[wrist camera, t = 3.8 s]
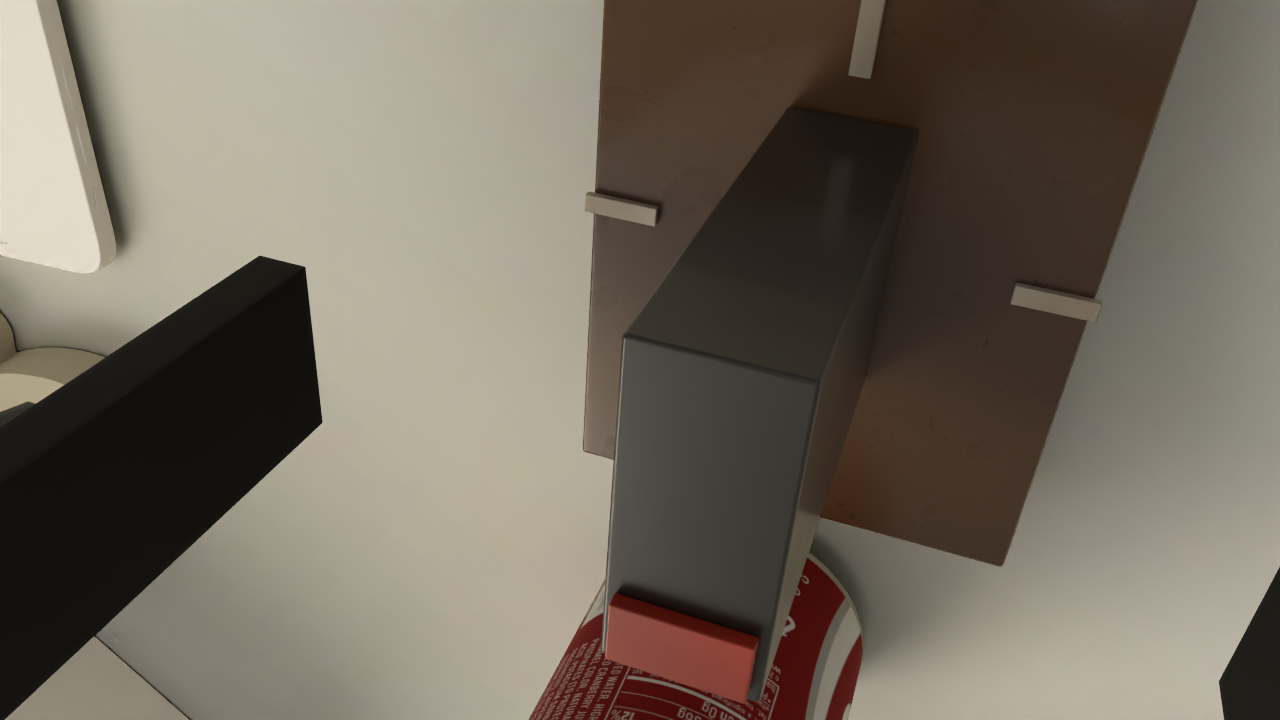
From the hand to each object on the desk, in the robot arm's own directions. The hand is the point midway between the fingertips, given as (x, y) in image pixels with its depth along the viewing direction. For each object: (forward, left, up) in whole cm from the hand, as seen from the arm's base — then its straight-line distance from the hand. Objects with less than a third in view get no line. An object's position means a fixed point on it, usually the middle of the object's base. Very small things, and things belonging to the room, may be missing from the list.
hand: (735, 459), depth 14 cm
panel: (0, 0, -9) cm, 9 cm away
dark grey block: (0, 0, -6) cm, 6 cm away
